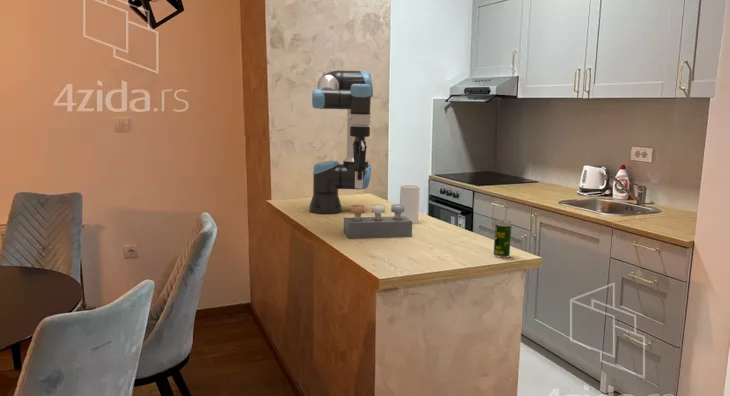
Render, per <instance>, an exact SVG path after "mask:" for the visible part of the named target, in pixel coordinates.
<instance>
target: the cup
mask: <svg viewBox="0 0 730 396" xmlns="http://www.w3.org/2000/svg"><path fill="white" fill-rule="evenodd" d="M399 188H400V192H399V204H401V205H404V206H405V209H404V212H403V213H401V216H405V217H407V218H408V219H410V220H411V221H412V225H414V224H418V223H419V212H420V185H419V184H413V183H403V184H400V187H399Z"/></svg>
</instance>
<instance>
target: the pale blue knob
mask: <svg viewBox="0 0 730 396" xmlns="http://www.w3.org/2000/svg"><path fill="white" fill-rule="evenodd" d="M390 206H391V208H390V211H391V212H390V213H394V216H395V217H394V220H401V213H403V212H404V209H405V206H404V205H401V204H400V203H398V204H395V203H394V204H390Z"/></svg>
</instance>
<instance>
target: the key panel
mask: <svg viewBox="0 0 730 396" xmlns="http://www.w3.org/2000/svg"><path fill="white" fill-rule="evenodd" d="M394 217H395V215H394V216H381V220H375V216H365V217H364V216H361V221H355V216H354V217H343V232H344V233H343V234H344V235H345V237H346V238H347V239H348V240H349V239H354V238H355V239H370V238H371V239H377V238H378V239H379V238H382V239H384V238H398V237H399V238H406V237H407V238H408V237H409V238H410V237H413V224H412V221H411V220H410V219H408V218H407V217H405V216H401V220H394Z"/></svg>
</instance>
